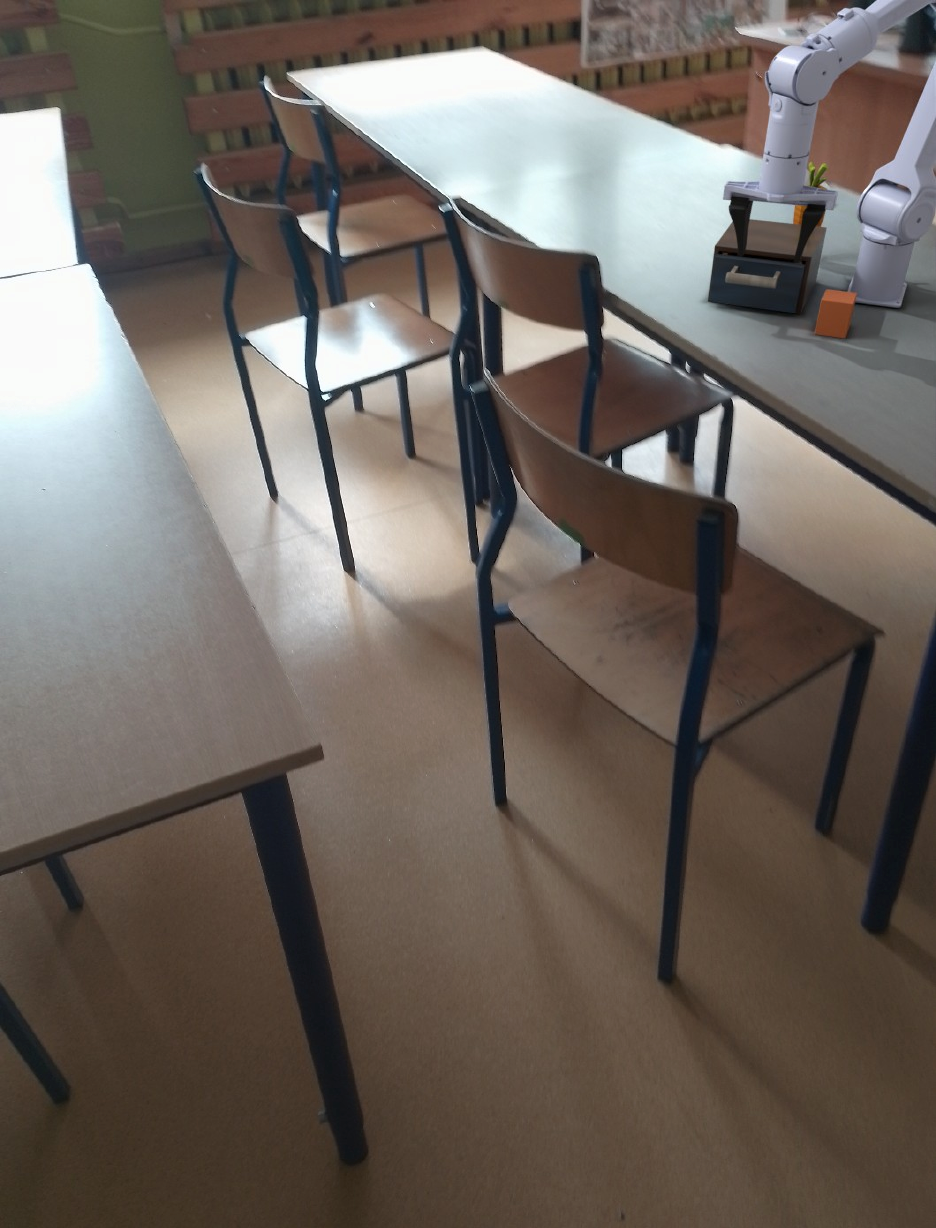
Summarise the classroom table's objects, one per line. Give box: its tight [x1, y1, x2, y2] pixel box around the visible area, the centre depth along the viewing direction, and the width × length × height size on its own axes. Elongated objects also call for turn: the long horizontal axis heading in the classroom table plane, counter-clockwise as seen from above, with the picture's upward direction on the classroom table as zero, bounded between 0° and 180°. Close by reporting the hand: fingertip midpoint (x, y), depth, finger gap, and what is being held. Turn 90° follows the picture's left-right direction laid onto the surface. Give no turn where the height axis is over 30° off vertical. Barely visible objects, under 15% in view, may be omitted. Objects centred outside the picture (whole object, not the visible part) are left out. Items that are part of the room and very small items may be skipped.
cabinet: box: [707, 218, 827, 315], centre depth 149 cm, size 13×14×8 cm
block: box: [814, 289, 857, 339], centre depth 138 cm, size 4×4×5 cm
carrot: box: [792, 161, 830, 227], centre depth 157 cm, size 5×5×15 cm
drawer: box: [708, 252, 806, 314], centre depth 145 cm, size 17×13×7 cm
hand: (769, 257), depth 137 cm, fingers open, 7 cm apart
